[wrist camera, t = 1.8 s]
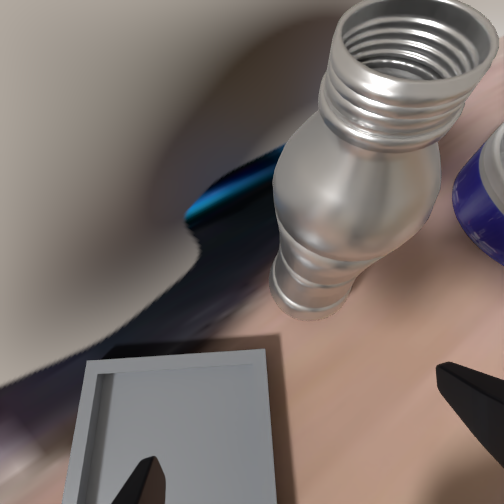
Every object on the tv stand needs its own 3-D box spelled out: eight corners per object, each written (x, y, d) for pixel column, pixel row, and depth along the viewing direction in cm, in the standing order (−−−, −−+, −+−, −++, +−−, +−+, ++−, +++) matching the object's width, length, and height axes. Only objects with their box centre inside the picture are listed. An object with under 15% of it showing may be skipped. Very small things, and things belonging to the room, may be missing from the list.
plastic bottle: (254, 298, 24) (212, 68, 6) (294, 242, 26) (354, -55, 8) (317, 342, 22) (527, 201, 4) (356, 278, 25) (607, 0, 6)
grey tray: (265, 350, 22) (265, 348, 21) (283, 593, 17) (285, 612, 15) (97, 361, 23) (87, 360, 21) (58, 603, 17) (40, 623, 16)
